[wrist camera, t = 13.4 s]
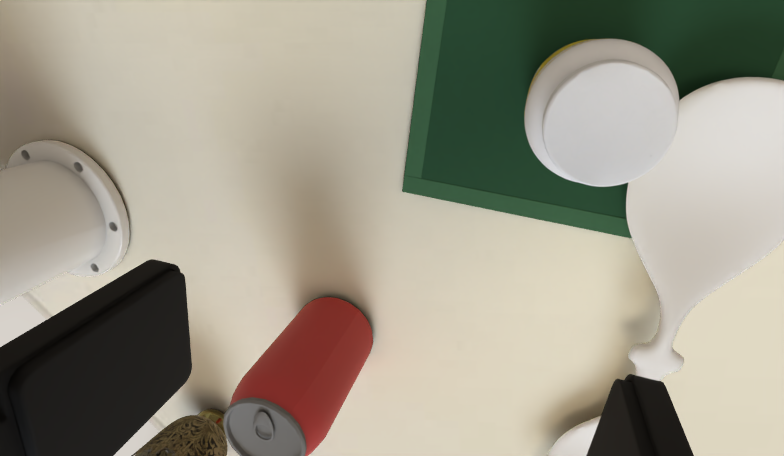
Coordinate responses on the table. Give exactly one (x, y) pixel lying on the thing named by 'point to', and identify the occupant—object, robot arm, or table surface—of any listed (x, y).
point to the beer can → (299, 382)
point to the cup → (190, 437)
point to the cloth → (515, 73)
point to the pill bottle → (601, 111)
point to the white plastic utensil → (703, 213)
